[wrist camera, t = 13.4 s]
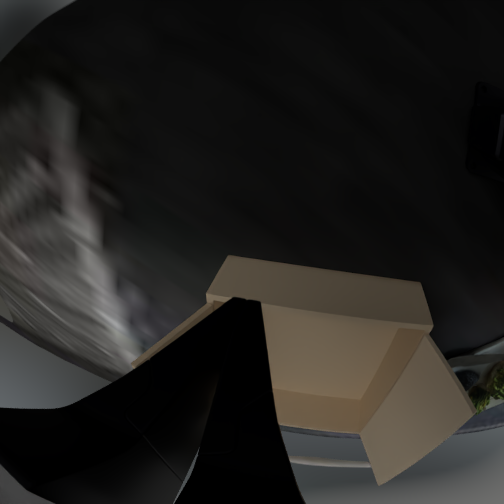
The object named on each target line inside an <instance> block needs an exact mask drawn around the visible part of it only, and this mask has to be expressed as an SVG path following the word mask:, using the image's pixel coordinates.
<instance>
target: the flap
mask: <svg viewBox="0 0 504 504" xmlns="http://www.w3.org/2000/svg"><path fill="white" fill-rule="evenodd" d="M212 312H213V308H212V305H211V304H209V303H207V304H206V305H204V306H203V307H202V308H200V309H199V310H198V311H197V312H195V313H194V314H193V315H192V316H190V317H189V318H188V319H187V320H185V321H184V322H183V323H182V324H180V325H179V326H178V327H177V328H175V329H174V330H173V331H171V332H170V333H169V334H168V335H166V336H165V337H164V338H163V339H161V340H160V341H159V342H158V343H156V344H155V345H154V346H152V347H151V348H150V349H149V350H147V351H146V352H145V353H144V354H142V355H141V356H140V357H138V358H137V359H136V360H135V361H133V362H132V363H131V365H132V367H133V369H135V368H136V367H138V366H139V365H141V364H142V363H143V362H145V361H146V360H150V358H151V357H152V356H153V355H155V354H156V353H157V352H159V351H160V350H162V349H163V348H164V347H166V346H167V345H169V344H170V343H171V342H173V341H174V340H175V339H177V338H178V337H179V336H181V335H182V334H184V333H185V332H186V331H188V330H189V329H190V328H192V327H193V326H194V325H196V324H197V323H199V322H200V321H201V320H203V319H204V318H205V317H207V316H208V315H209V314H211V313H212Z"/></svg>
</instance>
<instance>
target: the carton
mask: <svg viewBox="0 0 504 504" xmlns="http://www.w3.org/2000/svg"><path fill="white" fill-rule="evenodd" d="M206 297H207V303H209V304H211V305H212V308H213V311H215V310H216V309H217V308H219V307H220V306H221V305H223V304H224V303H225V302H227V301H228V300H229V299H231V298H232V297H240V298H245V299H246V300H248V299H251V300H257V301H260V302H261V305H262V312H263V320H264V327H265V334H266V342H267V349H268V357H269V364H270V372H271V379H272V387H273V393H274V401H275V407H276V413H277V419H278V423H279V425H285V426H291V427H298V428H305V429H312V430H321V431H330V432H340V433H353V434H359V433H360V432H361V431H362V430H363V428H364V427H365V426H366V424H367V423H368V422H369V421H370V419H371V418H372V417H373V415H374V414H375V413H376V411H377V410H378V409H379V407H380V406H381V404H382V403H383V402H384V400H385V399H386V397H387V396H388V394H389V393H390V391H391V390H392V388H393V387H394V386H395V384H396V382H397V381H398V379H399V378H400V376H401V375H402V373H403V372H404V370H405V368H406V367H407V365H408V363H409V362H410V360H411V359H412V357H413V355H414V353H415V352H416V350H417V348H418V346H419V345H420V343H421V341H422V339H423V338H424V336H425V335H427V334H429V333H430V332H431V330H432V328H433V326H434V325H433V321H432V318H431V314H430V311H429V308H428V304H427V301H426V298H425V295H424V292H423V288H422V285H421V282H414V281H407V280H400V279H393V278H385V277H378V276H371V275H364V274H357V273H350V272H342V271H335V270H328V269H321V268H314V267H307V266H300V265H293V264H286V263H280V262H273V261H266V260H259V259H252V258H245V257H238V256H232V255H228V256H227V258H226V260H225V261H224V263H223V265H222V267H221V268H220V270H219V272H218V274H217V275H216V277H215V279H214V280H213V282H212V284H211V286H210V287H209V289H208V291H207V293H206Z"/></svg>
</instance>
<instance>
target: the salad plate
mask: <svg viewBox="0 0 504 504" xmlns="http://www.w3.org/2000/svg"><path fill="white" fill-rule="evenodd" d="M447 362H448V364H449V365H450V367H451V368H452V370H453V372H454V373H455V375H456V376H457V378H458V380H459V381H460V383H461V384H462V386H463V388H464V389H465V391H466V393H467V395H468V396H469V398H470V400H471V401H472V403H473V405H474V407H475V408H476V410H477V412H476V413H475V414H476V415H477V414H479V413H480V412H481V411H484V410H486V409H488V408H491V407H494V406H496V405H499V404H501V403H503V402H504V337H503V338H501V339H499V340H497V341H494V342H492V343H489V344H487V345H484V346H482V347H479V348H476V349H473V350H471V351H468V352H466V353H464V354H461V355H459V356H456V357H453V358H451V359H449V360H447ZM474 385H476V386H474ZM475 414H474V415H475ZM474 415H473V416H474Z"/></svg>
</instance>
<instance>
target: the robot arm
mask: <svg viewBox="0 0 504 504" xmlns="http://www.w3.org/2000/svg"><path fill="white" fill-rule="evenodd" d="M482 86H483V87H484V89H485V90H484V92H482V90H481V87H482ZM468 142H469V148H468V153H467V159H466V168H467V169H468V170H469V171H470V172H472V173H475V174H478V175H482V176H485V177H488V178H491V179H494V180H497V181H500V182H503V183H504V91H503V90H501V89H499V88H497V87H495V86H492V85H490V84H488V83H485V82H478V83H477V84H476V91H475V103H474V106H473V107H472V113H471V122H470V129H469V136H468ZM473 162H474V167H472V168H471V163H473ZM199 447H200V448H199ZM198 449H199V452H198V457H197V459H196V462H195V465H194V468H193V471H192V473H191V476H190V478H189V479H188V481H187V483H186V485H185V487H184V488H183V490H182V491H181V493H180V495H179V497H178V498H177V500H176V501H175V503H174V504H306V503H305V501H304V499H303V497H302V495H301V492H300V490H299V488H298V485H297V482H296V479H295V476H294V473H293V470H292V467H291V464H290V461H289V457H288V454H287V451H286V448H285V445H284V442H283V438H282V434H281V431H280V427H279V423H278V419H277V413H276V407H275V401H274V393H273V387H272V379H271V372H270V364H269V357H268V349H267V342H266V334H265V327H264V320H263V312H262V305H261V302H260V301H257V300H251V299H248V300H246V299H245V298H240V297H232V298H231V299H229V300H228V301H227V302H225V303H224V304H223V305H221V306H220V307H219V308H217V309H216V310H215V311H213V312H212V313H211V314H209V315H208V316H207V317H205V318H204V319H203V320H201V321H200V322H199V323H197V324H196V325H194V326H193V327H192V328H190V329H189V330H188V331H186V332H185V333H184V334H182V335H181V336H179V337H178V338H177V339H175V340H174V341H173V342H171V343H170V344H169V345H167V346H166V347H164V348H163V349H162V350H160V351H159V352H157V353H156V354H155V355H153V356H152V357H151V358H150V360H146V361H145V362H143V363H142V364H141V365H139V366H138V367H136V368H135V369H133V370H132V371H130V372H129V373H127V374H126V375H124V376H123V377H121V378H119V379H118V380H116V381H114V382H112V383H111V384H109V385H107V386H106V387H103V388H102V389H100V390H98V391H96V392H94V393H92V394H90V395H89V396H87V397H85V398H83V399H81V400H79V401H77V402H75V403H73V404H71V405H68V406H65V407H61V408H55V409H18V408H0V504H173V502H174V500H175V498H176V496H177V494H178V492H179V490H180V488H181V485H182V483H183V481H184V479H185V477H186V475H187V473H188V471H189V469H190V466H191V464H192V462H193V460H194V458H195V455H196V454H197V451H198Z"/></svg>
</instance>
